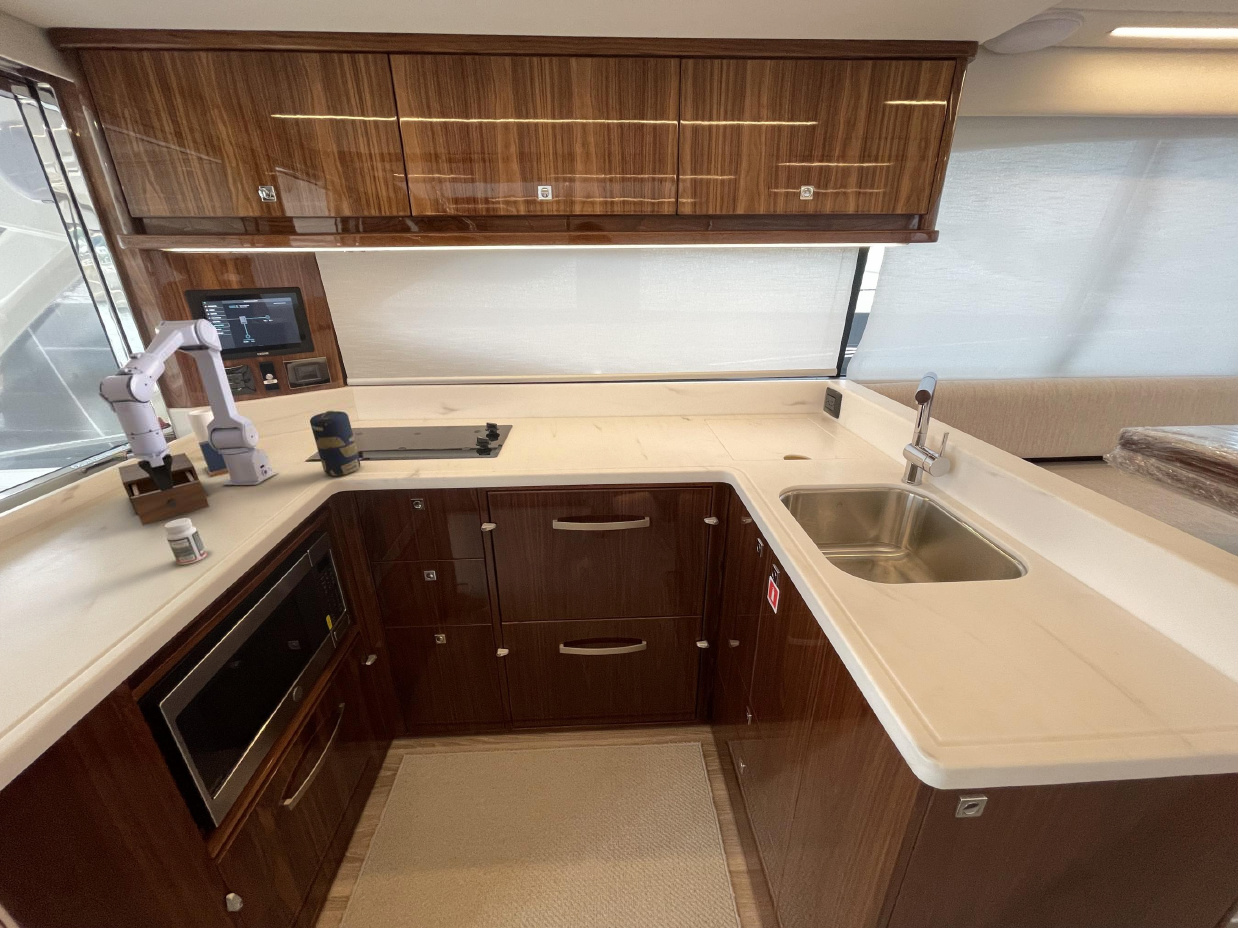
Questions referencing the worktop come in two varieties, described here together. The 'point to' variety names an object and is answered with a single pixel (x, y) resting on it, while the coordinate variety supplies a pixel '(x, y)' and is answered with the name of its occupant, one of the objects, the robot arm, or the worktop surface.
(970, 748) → the worktop surface
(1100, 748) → the worktop surface
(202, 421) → the white tapered cylinder
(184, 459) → the wooden box
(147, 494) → the drawer
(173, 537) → the pill bottle
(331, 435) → the canister
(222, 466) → the book
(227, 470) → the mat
